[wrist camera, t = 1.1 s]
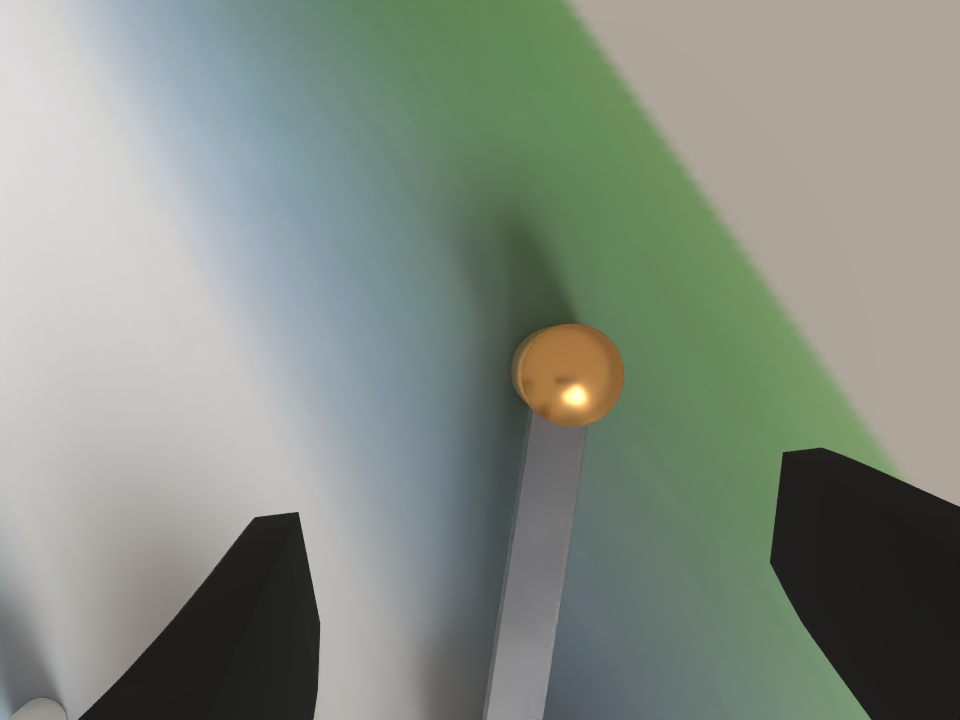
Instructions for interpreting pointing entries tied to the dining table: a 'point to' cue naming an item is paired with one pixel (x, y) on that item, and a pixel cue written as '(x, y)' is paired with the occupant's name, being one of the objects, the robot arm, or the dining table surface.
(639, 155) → the dining table surface
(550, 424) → the gold-tipped lever
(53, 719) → the post
